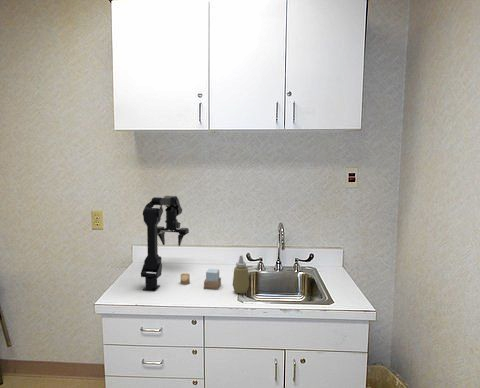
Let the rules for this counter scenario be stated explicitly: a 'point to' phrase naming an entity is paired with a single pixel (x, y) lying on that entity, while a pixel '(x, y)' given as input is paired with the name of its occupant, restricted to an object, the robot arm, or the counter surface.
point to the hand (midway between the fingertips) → (171, 245)
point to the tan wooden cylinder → (185, 278)
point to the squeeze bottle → (240, 277)
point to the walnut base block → (212, 284)
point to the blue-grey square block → (212, 275)
